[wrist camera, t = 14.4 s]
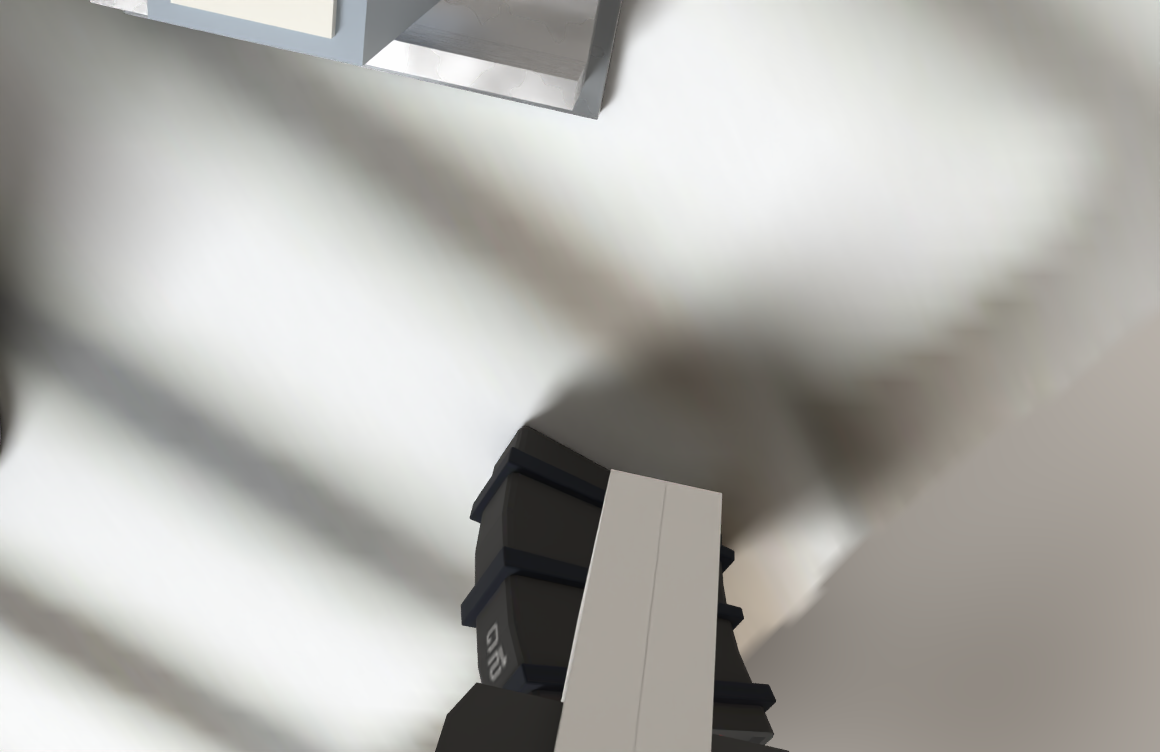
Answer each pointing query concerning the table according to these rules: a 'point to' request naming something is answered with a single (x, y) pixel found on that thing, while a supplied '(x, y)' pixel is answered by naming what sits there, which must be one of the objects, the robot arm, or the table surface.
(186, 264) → the table surface
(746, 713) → the magazine
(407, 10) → the block
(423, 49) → the grey piece
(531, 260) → the table surface
